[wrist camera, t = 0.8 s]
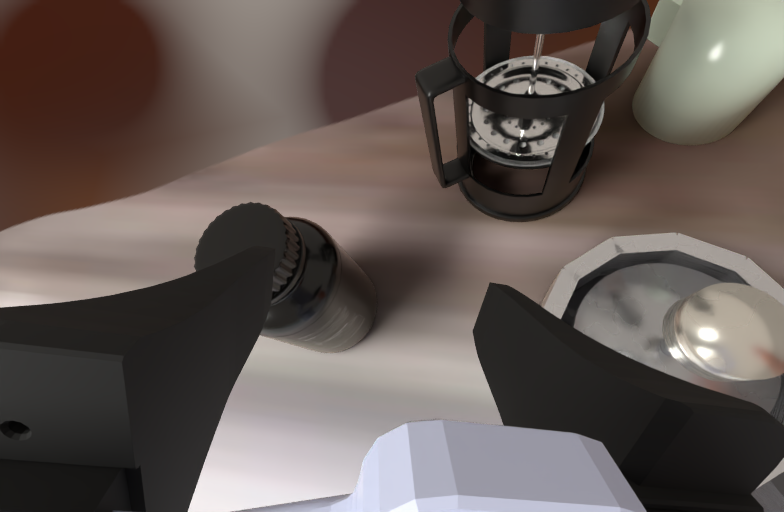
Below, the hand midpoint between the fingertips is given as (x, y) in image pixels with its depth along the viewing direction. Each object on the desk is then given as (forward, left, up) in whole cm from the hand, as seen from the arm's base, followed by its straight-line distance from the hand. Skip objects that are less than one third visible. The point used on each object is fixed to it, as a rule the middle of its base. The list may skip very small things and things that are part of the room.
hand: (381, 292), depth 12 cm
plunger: (-7, -10, -11) cm, 17 cm away
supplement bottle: (+6, +5, -14) cm, 16 cm away
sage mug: (+5, -25, -14) cm, 29 cm away
